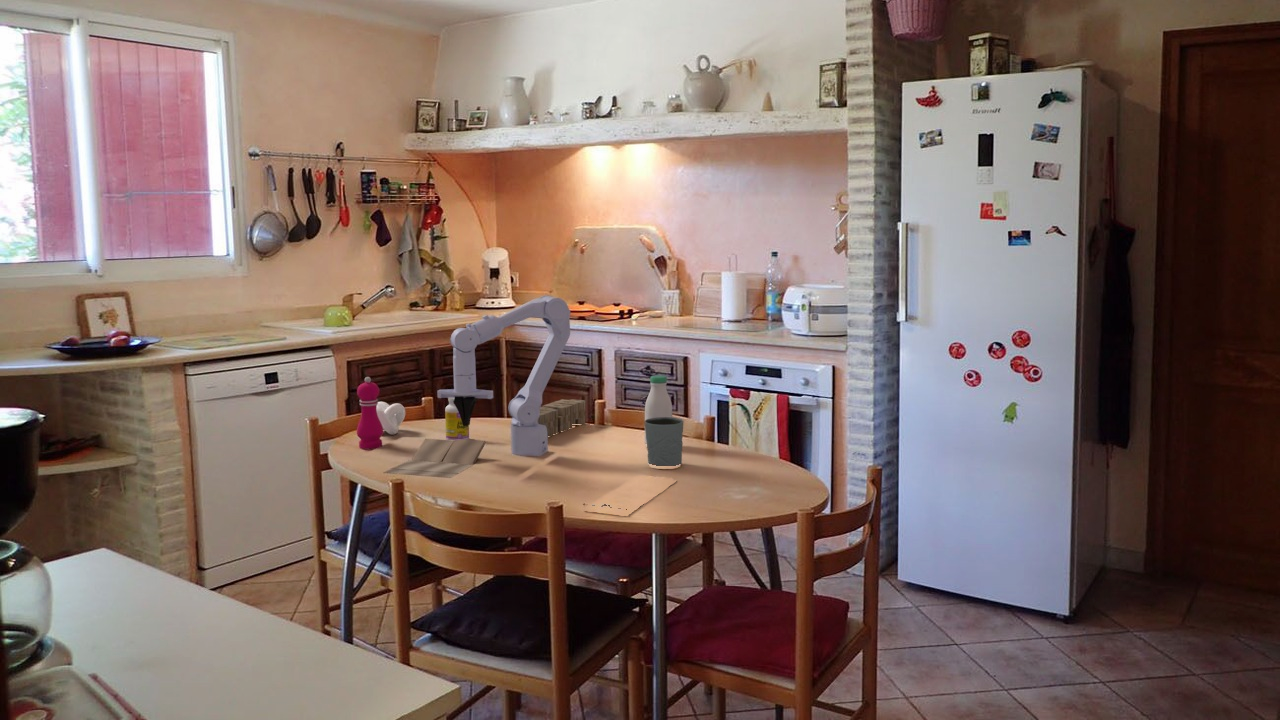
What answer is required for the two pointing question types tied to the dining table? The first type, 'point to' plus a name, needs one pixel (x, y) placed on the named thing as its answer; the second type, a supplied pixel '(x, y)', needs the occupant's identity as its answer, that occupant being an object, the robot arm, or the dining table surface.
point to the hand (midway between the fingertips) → (466, 425)
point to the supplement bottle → (454, 423)
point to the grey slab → (428, 469)
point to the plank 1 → (433, 450)
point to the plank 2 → (464, 451)
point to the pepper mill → (369, 416)
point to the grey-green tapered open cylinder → (664, 440)
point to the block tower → (562, 415)
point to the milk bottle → (658, 399)
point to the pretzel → (390, 416)
